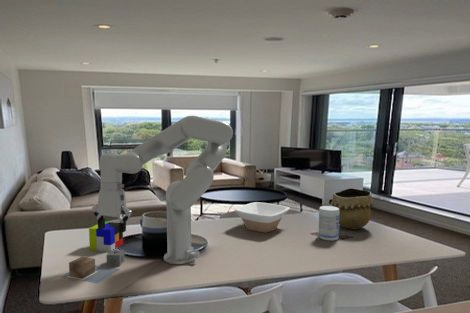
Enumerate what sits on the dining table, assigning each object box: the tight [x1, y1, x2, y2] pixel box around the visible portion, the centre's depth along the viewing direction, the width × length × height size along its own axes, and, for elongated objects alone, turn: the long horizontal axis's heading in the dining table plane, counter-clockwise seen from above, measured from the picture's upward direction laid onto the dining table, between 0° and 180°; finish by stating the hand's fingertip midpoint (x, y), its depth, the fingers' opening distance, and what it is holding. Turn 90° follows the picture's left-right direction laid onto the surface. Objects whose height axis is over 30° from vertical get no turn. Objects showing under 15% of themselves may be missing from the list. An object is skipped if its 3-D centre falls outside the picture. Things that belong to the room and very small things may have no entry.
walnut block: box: [68, 256, 96, 279], centre depth 124 cm, size 6×6×5 cm
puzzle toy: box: [88, 221, 124, 253], centre depth 152 cm, size 10×10×10 cm
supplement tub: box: [318, 205, 340, 242], centre depth 165 cm, size 10×10×15 cm
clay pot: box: [330, 187, 375, 230], centre depth 180 cm, size 21×21×20 cm
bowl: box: [233, 201, 290, 234], centre depth 181 cm, size 24×25×11 cm
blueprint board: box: [60, 264, 121, 284], centre depth 125 cm, size 16×12×1 cm
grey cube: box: [106, 249, 125, 267], centre depth 134 cm, size 5×5×5 cm
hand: (111, 230), depth 131 cm, fingers open, 9 cm apart
